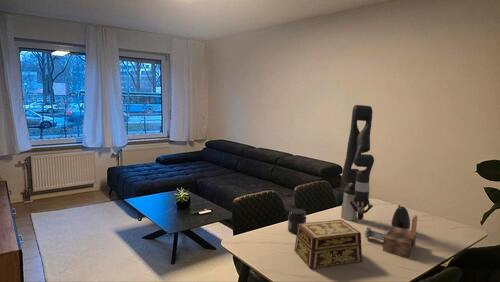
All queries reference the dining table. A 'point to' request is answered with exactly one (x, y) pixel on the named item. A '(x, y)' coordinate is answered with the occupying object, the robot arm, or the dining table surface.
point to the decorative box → (328, 244)
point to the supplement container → (296, 219)
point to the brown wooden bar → (374, 234)
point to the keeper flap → (414, 226)
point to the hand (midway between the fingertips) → (360, 219)
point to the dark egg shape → (401, 218)
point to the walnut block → (399, 242)
